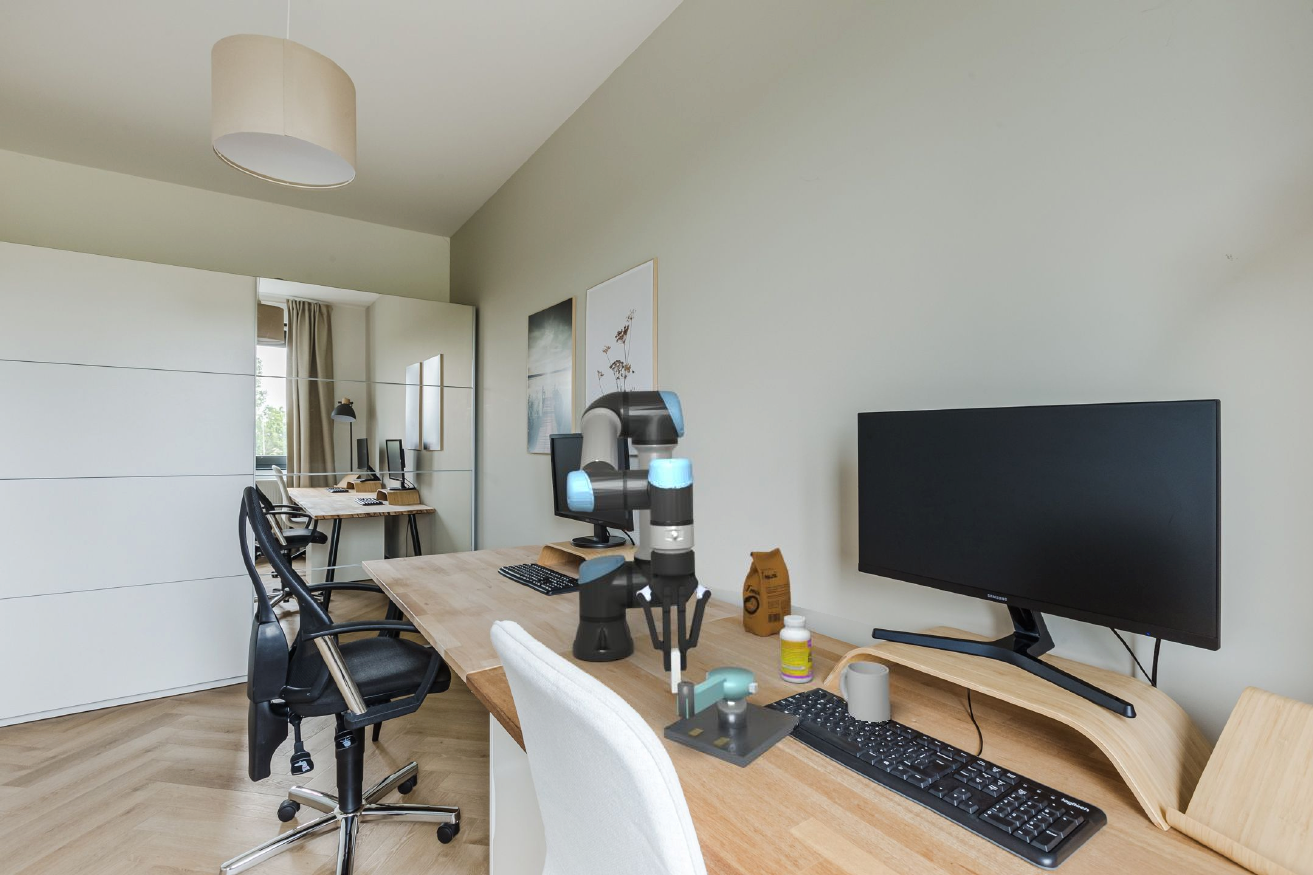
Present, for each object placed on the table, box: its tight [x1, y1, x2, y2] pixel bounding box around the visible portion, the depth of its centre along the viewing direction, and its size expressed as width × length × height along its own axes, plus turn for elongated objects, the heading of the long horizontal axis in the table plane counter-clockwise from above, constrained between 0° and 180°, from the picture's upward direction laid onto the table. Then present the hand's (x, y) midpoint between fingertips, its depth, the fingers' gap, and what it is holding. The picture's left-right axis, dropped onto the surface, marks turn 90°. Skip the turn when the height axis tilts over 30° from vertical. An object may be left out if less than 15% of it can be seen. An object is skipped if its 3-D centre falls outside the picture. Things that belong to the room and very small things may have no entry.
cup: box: [838, 660, 891, 723], centre depth 107 cm, size 7×10×9 cm
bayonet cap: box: [676, 666, 759, 719], centre depth 98 cm, size 18×10×5 cm, turn 140°
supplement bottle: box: [779, 614, 813, 684], centre depth 126 cm, size 7×7×13 cm
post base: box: [663, 696, 800, 768], centre depth 102 cm, size 16×18×7 cm
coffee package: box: [742, 547, 792, 638], centre depth 162 cm, size 10×12×22 cm
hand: (675, 689), depth 99 cm, fingers closed
